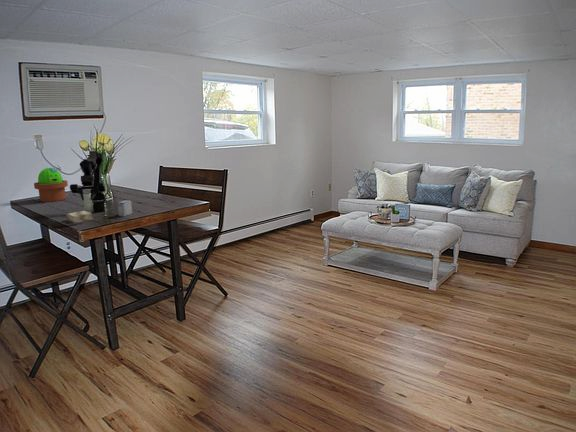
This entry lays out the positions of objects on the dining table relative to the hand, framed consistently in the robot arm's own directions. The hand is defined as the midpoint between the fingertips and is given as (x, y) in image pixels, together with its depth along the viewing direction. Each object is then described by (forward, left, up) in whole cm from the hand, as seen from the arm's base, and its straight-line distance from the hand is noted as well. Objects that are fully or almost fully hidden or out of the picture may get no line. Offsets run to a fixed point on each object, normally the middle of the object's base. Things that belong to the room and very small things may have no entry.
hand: (87, 199), depth 255 cm
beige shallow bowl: (+4, -10, -13) cm, 17 cm away
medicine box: (-22, -7, -14) cm, 27 cm away
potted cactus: (+12, -96, -14) cm, 98 cm away
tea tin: (0, -1, -7) cm, 7 cm away
